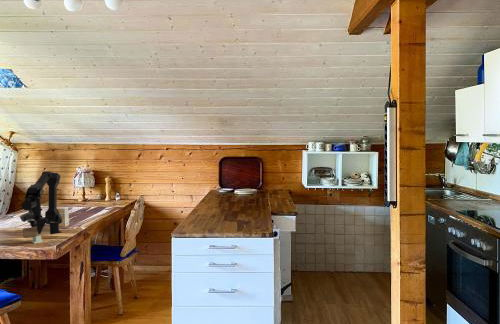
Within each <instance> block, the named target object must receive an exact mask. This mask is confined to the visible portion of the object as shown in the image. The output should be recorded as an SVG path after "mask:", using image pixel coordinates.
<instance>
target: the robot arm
mask: <svg viewBox="0 0 500 324" xmlns="http://www.w3.org/2000/svg"><path fill="white" fill-rule="evenodd" d="M60 180H61V174H60V173H58V172H53V171H50V170H49V171H43V172H41V175H40V177H38V179H37V181H36V182H35V183H33V184H31V185H30V186H29V187H28V188H27V190H26V192H25V196H24V201H23V202H22V203H21V208H22V210H23V211H26V213H24V214H23V213H22V214H21V215H19V218H20V220H21V221H20V222H23V223H26V222H27V223H29V224H30V226H31V227H37V231H38V234H41V231H42V229H43V227H44V226H45V224H46V225H49V226H50V234H49V235H54V234H60V233H62V231H61V230H60V227H59V224H60V223H62V218H61V217H60V215H59V211H58V210H57V208H58V204H57V203H58V202H57V201H58V197H57V195H58V193H57V192H58V191H57V188H58V185H59V184H60ZM46 185H47V186H48V208H47V210H45V213H44V215H42V211H43V208H42V205H41V204H42V203H41V202H42V201H41V200H42V199H43V198H42V195H43V193H44V189H43V188H44V187H45V186H46ZM27 211H28V212H27ZM31 227H30V228H31Z"/></svg>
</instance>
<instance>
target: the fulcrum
mask: <svg viewBox="0 0 500 324" xmlns="http://www.w3.org/2000/svg"><path fill="white" fill-rule="evenodd" d="M30 242H31V243H33V244H38V243H43V242H44V240H43V239H42V235H41V236H34V237H32V239H31V240H30Z"/></svg>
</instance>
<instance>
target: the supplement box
mask: <svg viewBox="0 0 500 324" xmlns="http://www.w3.org/2000/svg"><path fill="white" fill-rule="evenodd" d="M57 210H58V211H59V215H60V217H61V218H62V223H60V224H59V228H60V227H64V228H66V227H69V225H70V217H69V216H70V215H69V214H70V213H69V207H58V206H57Z"/></svg>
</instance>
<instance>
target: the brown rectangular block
mask: <svg viewBox="0 0 500 324" xmlns="http://www.w3.org/2000/svg"><path fill="white" fill-rule="evenodd" d="M45 235H51V234H50V226H49V224H46V225H44V227H43V229H42V231H41V234H38V231H37V227H27V228H26V227H24V228H22V238H24V239H27V238H33V237H34V236H41V237H42V236H45Z"/></svg>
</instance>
